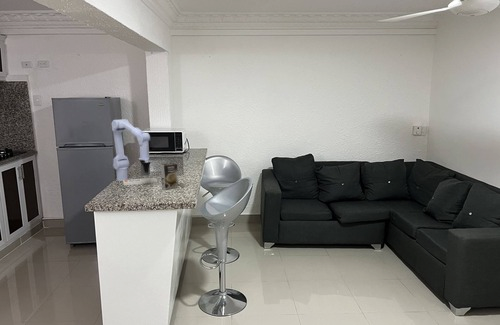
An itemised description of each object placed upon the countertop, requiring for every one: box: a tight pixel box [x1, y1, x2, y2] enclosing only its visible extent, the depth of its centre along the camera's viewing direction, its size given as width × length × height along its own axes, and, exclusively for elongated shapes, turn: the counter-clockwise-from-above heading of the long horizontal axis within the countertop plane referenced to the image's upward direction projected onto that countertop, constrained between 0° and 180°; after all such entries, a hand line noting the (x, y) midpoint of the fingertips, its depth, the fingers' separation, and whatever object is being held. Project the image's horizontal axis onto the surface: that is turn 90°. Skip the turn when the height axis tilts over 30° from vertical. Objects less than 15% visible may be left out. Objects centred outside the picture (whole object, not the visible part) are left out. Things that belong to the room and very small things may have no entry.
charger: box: [140, 164, 151, 177], centre depth 251 cm, size 5×5×7 cm
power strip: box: [122, 177, 158, 186], centre depth 260 cm, size 9×22×3 cm, turn 112°
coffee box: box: [160, 162, 179, 191], centre depth 248 cm, size 9×6×16 cm
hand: (145, 171), depth 251 cm, fingers closed on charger, 6 cm apart
